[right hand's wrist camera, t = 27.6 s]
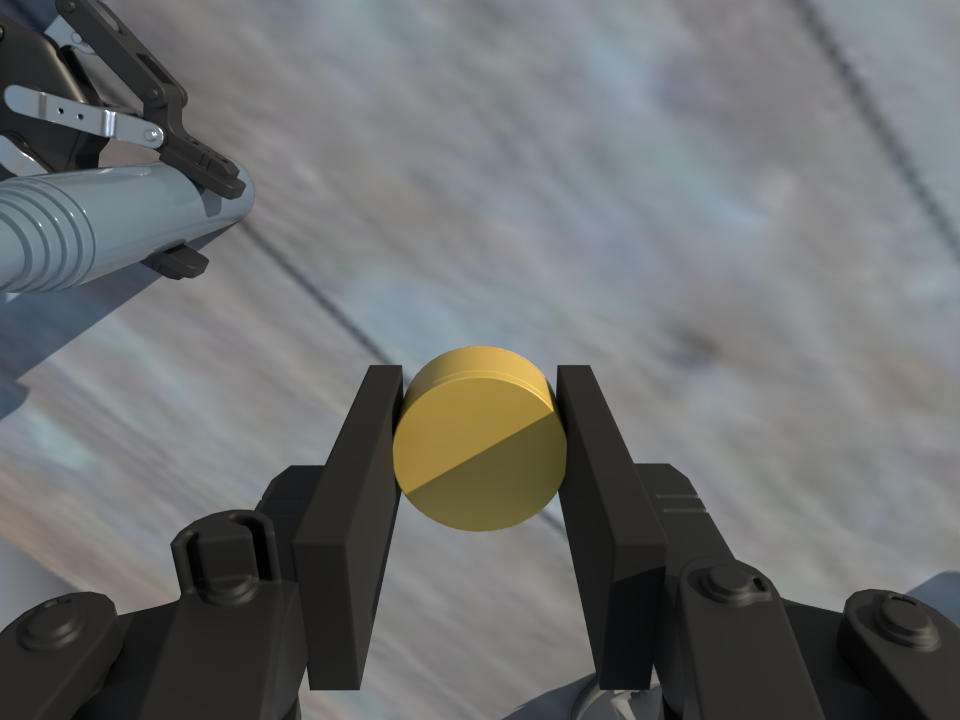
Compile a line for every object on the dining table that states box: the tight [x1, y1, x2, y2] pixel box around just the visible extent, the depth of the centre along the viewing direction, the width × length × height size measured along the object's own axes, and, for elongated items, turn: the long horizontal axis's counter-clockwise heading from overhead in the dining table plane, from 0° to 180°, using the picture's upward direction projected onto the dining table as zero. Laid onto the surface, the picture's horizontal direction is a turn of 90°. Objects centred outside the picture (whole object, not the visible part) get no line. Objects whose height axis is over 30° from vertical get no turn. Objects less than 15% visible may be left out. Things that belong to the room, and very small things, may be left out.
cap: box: [393, 346, 567, 532], centre depth 14 cm, size 4×4×2 cm
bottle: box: [0, 155, 254, 293], centre depth 28 cm, size 4×4×22 cm
